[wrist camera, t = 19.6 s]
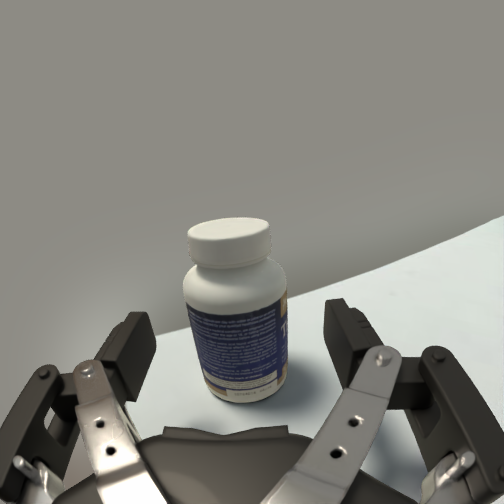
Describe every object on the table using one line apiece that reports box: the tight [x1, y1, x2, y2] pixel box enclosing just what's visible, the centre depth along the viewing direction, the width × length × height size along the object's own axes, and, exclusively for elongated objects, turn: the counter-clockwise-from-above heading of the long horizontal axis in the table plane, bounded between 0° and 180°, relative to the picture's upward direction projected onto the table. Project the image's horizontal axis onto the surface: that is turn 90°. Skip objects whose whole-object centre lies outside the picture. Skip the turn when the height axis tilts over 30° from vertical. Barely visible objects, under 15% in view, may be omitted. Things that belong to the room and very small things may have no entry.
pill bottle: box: [183, 218, 288, 403], centre depth 15 cm, size 5×5×10 cm
